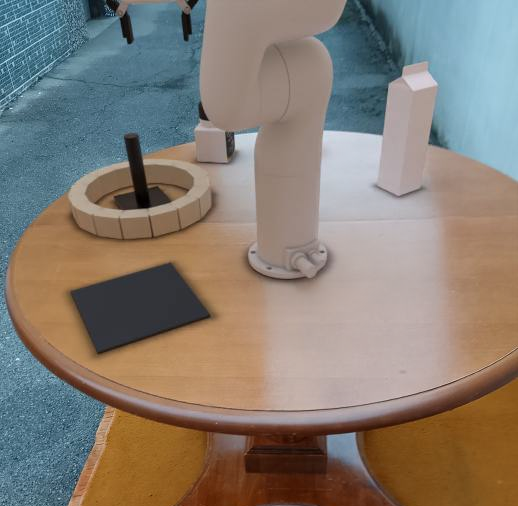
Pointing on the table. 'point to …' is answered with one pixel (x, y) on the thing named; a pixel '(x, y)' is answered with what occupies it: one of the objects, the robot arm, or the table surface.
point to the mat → (137, 306)
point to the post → (139, 181)
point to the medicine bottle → (212, 141)
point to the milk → (407, 129)
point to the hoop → (140, 220)
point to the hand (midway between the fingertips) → (158, 41)
